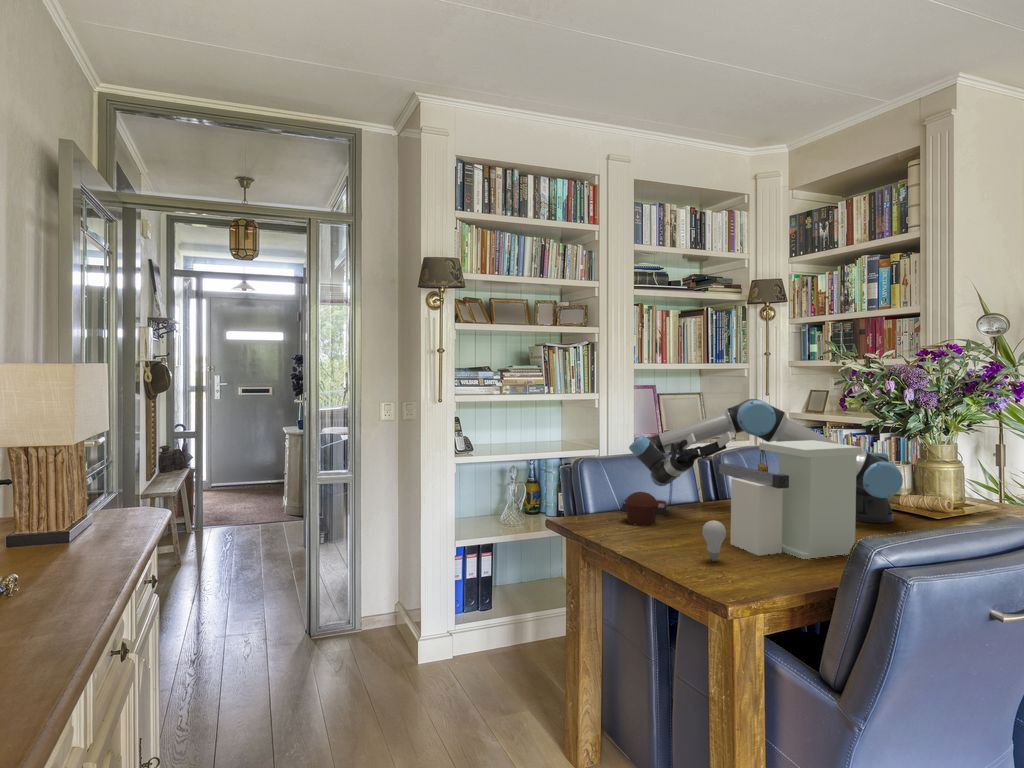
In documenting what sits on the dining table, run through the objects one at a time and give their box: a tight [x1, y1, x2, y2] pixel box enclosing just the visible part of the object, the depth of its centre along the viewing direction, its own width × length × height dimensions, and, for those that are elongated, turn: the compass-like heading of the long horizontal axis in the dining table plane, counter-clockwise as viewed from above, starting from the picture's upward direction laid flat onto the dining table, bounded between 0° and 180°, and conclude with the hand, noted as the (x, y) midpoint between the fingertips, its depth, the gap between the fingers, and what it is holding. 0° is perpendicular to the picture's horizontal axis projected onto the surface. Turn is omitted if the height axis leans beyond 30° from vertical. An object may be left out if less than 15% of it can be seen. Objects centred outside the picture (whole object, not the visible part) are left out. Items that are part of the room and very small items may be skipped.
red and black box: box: [621, 497, 668, 516], centre depth 232 cm, size 11×4×15 cm
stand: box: [758, 440, 863, 560], centre depth 184 cm, size 18×20×30 cm
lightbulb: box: [701, 519, 727, 562], centre depth 172 cm, size 6×6×11 cm
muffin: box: [624, 491, 659, 526], centre depth 215 cm, size 12×11×10 cm
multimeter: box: [757, 449, 769, 472], centre depth 257 cm, size 15×10×20 cm
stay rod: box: [718, 462, 789, 489], centre depth 185 cm, size 26×3×3 cm, turn 18°
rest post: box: [730, 477, 783, 557], centre depth 184 cm, size 12×8×20 cm, turn 18°
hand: (711, 436), depth 203 cm, fingers open, 13 cm apart
